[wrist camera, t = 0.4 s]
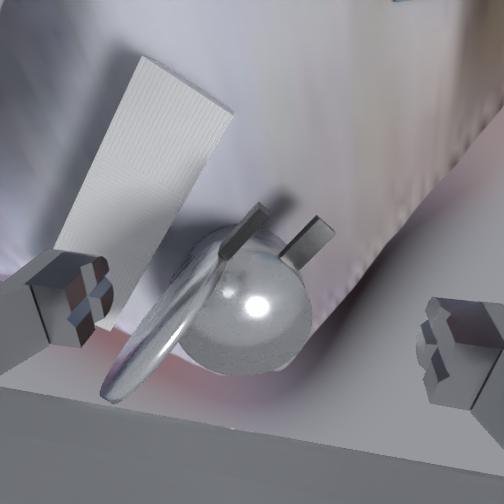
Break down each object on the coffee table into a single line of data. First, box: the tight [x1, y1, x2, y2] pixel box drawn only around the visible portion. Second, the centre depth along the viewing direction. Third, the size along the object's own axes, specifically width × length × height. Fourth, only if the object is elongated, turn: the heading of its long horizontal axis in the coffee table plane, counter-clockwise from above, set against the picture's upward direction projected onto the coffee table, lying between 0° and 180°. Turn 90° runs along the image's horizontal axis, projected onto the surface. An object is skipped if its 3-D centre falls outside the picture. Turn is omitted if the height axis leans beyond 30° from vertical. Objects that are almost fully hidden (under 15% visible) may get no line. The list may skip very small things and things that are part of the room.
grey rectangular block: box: [53, 56, 234, 331], centre depth 48 cm, size 32×11×11 cm, turn 148°
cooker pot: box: [170, 215, 336, 376], centre depth 53 cm, size 19×25×12 cm
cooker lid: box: [100, 202, 269, 404], centre depth 36 cm, size 18×24×1 cm
